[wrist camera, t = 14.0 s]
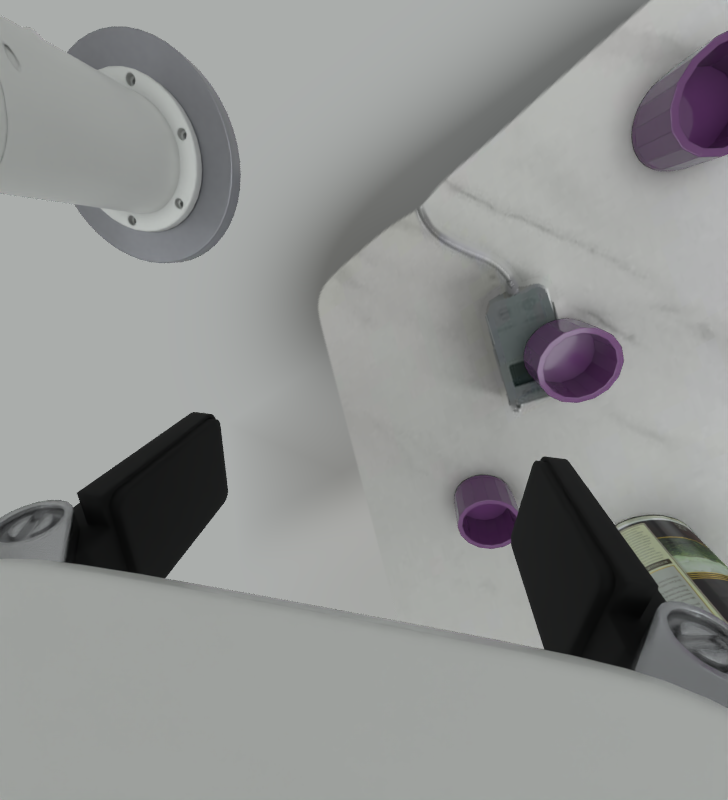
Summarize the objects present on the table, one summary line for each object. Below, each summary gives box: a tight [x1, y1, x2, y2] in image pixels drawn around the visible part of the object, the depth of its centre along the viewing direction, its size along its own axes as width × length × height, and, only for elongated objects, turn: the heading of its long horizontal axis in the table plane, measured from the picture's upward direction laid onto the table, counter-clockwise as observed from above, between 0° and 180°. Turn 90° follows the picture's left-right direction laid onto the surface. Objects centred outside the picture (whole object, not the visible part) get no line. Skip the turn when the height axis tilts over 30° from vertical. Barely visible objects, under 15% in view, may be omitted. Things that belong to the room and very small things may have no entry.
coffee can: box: [616, 515, 728, 624], centre depth 34 cm, size 10×10×14 cm
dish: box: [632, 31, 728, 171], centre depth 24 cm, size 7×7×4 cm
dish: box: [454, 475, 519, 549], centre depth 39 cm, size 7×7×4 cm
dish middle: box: [524, 318, 624, 403], centre depth 31 cm, size 7×7×4 cm
